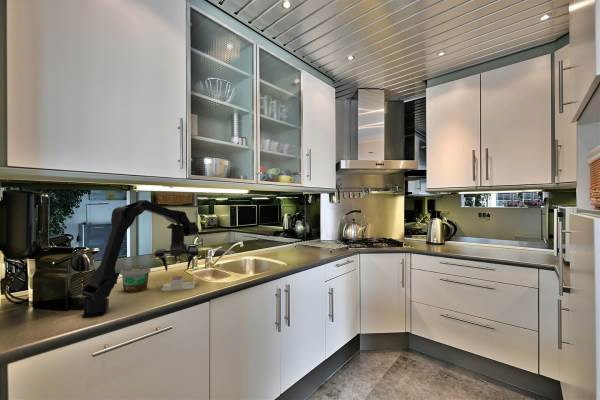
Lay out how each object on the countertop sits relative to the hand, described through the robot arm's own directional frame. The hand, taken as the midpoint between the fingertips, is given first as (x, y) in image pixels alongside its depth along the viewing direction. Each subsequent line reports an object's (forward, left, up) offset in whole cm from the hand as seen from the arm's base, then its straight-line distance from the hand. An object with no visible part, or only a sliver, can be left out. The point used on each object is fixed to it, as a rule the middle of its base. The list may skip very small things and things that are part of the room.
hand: (177, 270), depth 131 cm
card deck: (0, 0, -8) cm, 8 cm away
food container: (-18, 0, -9) cm, 20 cm away
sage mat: (+1, +1, -8) cm, 8 cm away
